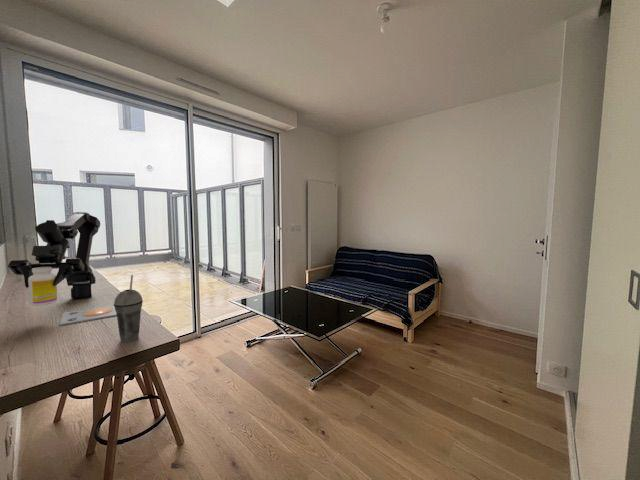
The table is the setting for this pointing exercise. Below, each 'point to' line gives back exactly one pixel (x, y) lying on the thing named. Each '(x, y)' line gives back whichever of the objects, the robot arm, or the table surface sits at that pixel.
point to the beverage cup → (128, 313)
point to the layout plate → (87, 315)
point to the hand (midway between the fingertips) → (40, 286)
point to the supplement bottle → (42, 287)
